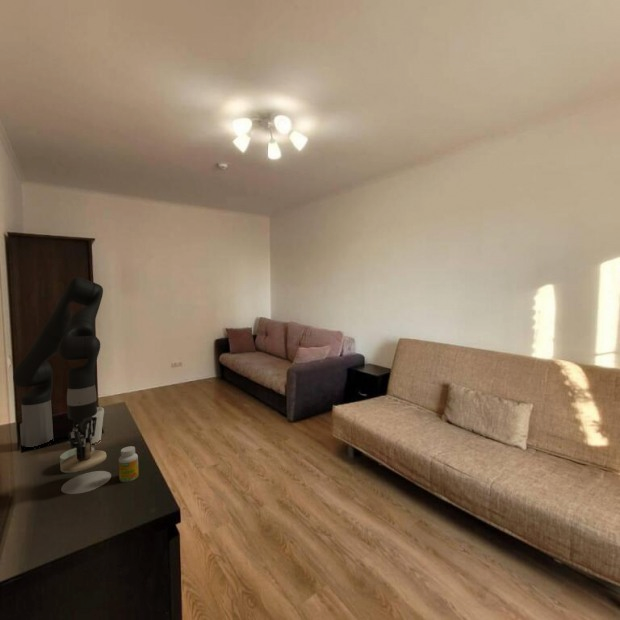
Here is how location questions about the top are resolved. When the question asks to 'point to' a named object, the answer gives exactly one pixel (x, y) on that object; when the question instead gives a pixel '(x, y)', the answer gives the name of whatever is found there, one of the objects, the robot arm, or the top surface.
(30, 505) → the top surface
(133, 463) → the supplement bottle
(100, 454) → the lid
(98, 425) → the foam cup
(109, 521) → the top surface
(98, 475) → the mat
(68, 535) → the top surface
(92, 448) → the bowl
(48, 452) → the top surface
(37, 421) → the robot arm
